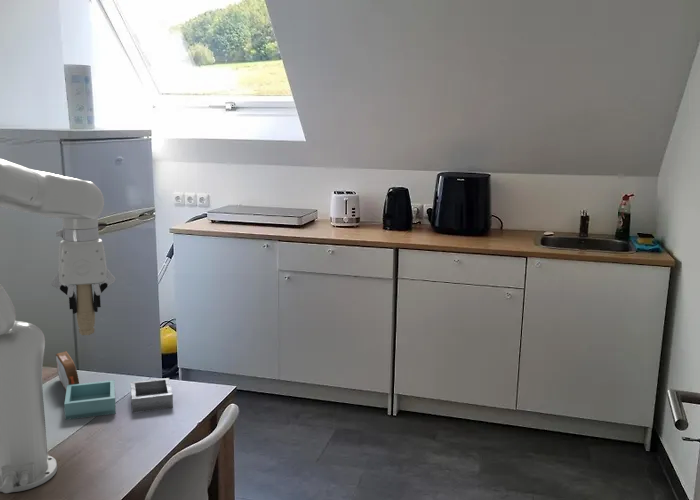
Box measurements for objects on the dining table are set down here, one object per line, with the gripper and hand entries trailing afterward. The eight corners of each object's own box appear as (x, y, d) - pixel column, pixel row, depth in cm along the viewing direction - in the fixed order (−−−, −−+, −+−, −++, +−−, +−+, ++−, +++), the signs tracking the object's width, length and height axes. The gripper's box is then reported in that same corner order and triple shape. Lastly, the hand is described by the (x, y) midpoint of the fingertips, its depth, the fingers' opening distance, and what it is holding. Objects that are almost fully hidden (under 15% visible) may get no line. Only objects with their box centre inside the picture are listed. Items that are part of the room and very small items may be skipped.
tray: (115, 413, 154) (114, 398, 153) (65, 419, 150) (64, 403, 149) (115, 394, 164) (114, 379, 163) (68, 400, 160) (67, 385, 159)
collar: (173, 407, 158) (172, 394, 157) (132, 412, 155) (131, 399, 154) (169, 390, 167) (168, 377, 167) (131, 395, 164) (130, 382, 163)
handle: (69, 333, 153) (65, 272, 150) (97, 328, 157) (93, 268, 154) (76, 339, 149) (72, 276, 146) (104, 333, 153) (100, 272, 150)
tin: (81, 396, 163) (79, 364, 161) (67, 399, 161) (65, 367, 159) (68, 375, 175) (66, 346, 173) (55, 378, 173) (53, 348, 171)
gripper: (39, 239, 142) (45, 318, 146) (119, 236, 148) (123, 313, 151) (42, 233, 149) (47, 309, 153) (119, 230, 155) (122, 304, 158)
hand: (85, 310), depth 152 cm, fingers closed on handle, 4 cm apart
